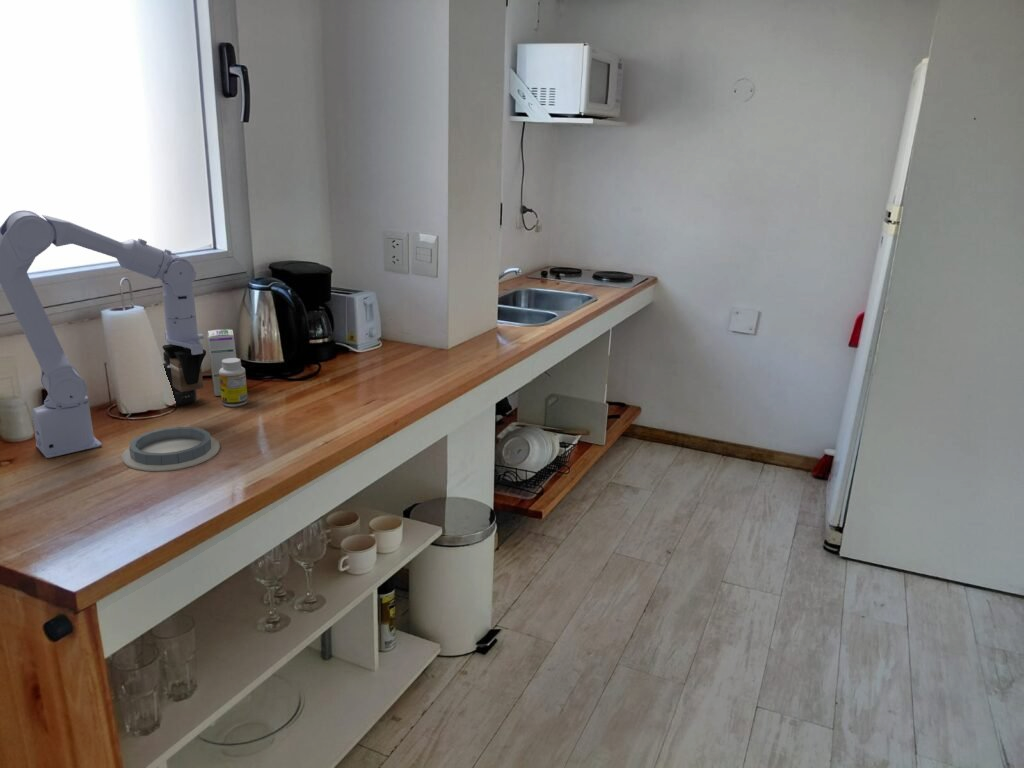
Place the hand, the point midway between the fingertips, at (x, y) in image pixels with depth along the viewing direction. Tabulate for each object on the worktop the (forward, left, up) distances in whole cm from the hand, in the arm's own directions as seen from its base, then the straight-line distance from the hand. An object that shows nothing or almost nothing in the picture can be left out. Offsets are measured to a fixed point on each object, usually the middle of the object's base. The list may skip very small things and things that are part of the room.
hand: (187, 380), depth 156 cm
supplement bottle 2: (+12, +6, -10) cm, 17 cm away
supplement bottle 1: (+3, +14, -10) cm, 17 cm away
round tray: (-9, -13, -9) cm, 18 cm away
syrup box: (+14, +15, -10) cm, 23 cm away
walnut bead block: (0, 0, -1) cm, 1 cm away
